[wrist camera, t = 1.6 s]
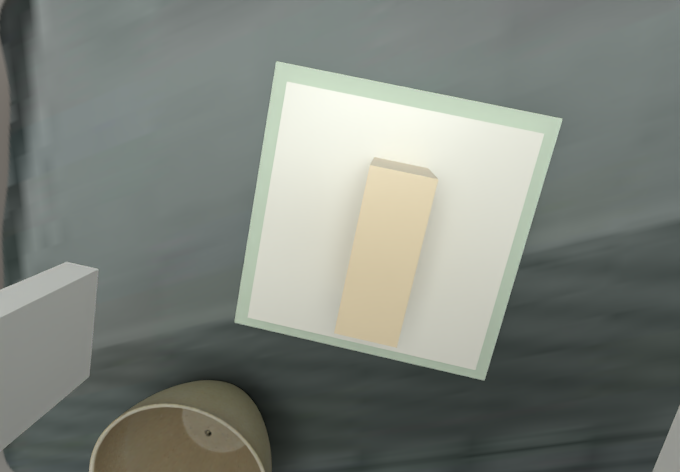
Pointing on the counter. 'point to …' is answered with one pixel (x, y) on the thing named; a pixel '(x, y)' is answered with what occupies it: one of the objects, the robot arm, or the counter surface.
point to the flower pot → (187, 433)
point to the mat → (417, 100)
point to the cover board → (337, 200)
